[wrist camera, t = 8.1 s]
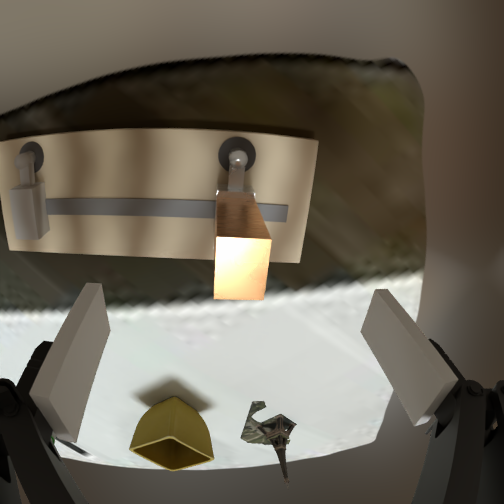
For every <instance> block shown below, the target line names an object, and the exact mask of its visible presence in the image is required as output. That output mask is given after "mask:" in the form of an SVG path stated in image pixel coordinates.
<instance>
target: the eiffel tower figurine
mask: <svg viewBox="0 0 504 504" xmlns="http://www.w3.org/2000/svg"><path fill="white" fill-rule="evenodd" d="M265 407H266V405H265V402H264V401H257V402H252V405H251V408H250V411H249V414H248V417H247V420H246V423H245V427H244V430H243V432H242V435H241V439H243V440H245V441H246V442H247V443H258V444H260V443H262V444H264V445H273V447H274V448H275V451H276V453H277V455H278V458H279V461H280V465H281V468H282V472H283V475H284V479H285V481H284V482H285V483H286V484H287V485H288V483H289V480H288V476H287V467H286V456H285V450H286V444H289V442H290V440H287V439H289V435H290V433H291V431H292V430H293V428H294V426H296V425H297V424H296V423H294V422H292V421H291V420H289V419H288V418H286V417H285V416H283V415H282V414H279V415H277V416H275V417H273V418H270V419H268V420H266V421H264V422H262V423H260V422H257V421H256V420H254V419H253V418H252V417H251V416H252V415H253V414H254V413H255V412H257V411H259V410H261V409H263V408H265ZM286 429H287V431H285V430H286Z"/></svg>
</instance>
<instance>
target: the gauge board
mask: <svg viewBox="0 0 504 504" xmlns="http://www.w3.org/2000/svg"><path fill="white" fill-rule="evenodd" d="M318 142H319V141H317V140H314V139H309V138H302V137H294V136H286V135H277V134H267V133H257V132H245V131H232V130H215V129H192V128H126V129H103V130H88V131H75V132H64V133H54V134H46V135H38V136H30V137H23V138H17V139H10V140H5V141H2V142H0V197H1V204H2V211H3V217H4V223H5V229H6V234H7V239H8V244H9V249H10V250H17V251H35V252H54V253H74V254H94V255H116V256H137V257H160V258H184V259H209V260H214V226H215V209H216V192H217V184H228V177H229V164H230V160H229V153H230V151H231V150H232V149H234V148H241V149H242V150H243V151H245V152H246V155H247V157H248V162H247V164H246V165H245V173H244V184H243V185H250V186H252V187H253V189H254V191H255V201H256V203H257V205H258V208H259V210H260V213H261V215H262V217H263V220H264V222H265V225H266V227H267V229H268V232H269V234H270V237H271V239H272V241H271V249H270V256H269V262H291V263H299V262H300V257H301V251H302V246H303V240H304V234H305V228H306V222H307V216H308V210H309V204H310V197H311V191H312V184H313V178H314V171H315V164H316V157H317V150H318Z"/></svg>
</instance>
